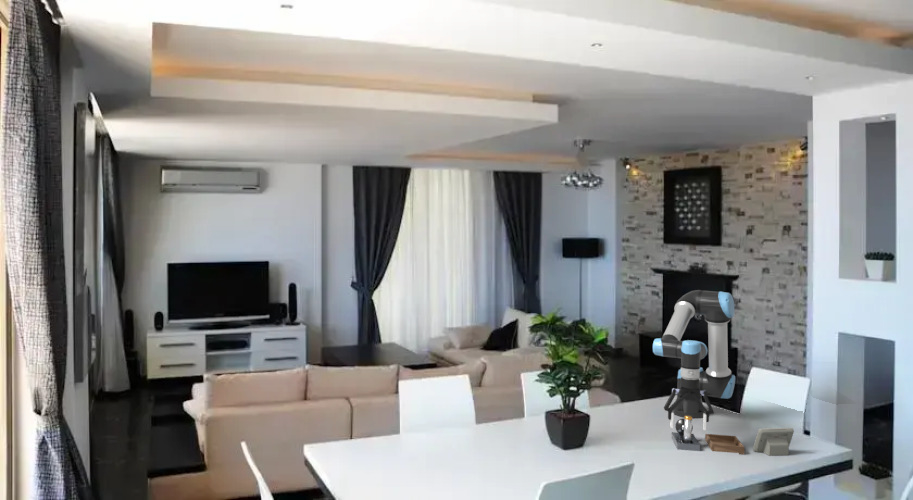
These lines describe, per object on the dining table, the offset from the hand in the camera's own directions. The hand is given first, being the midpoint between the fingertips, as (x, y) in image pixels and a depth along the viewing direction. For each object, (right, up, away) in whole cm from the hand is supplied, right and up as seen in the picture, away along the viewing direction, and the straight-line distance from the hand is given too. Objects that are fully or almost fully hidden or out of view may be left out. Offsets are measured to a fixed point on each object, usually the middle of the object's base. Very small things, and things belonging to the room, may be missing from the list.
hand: (687, 428), depth 298 cm
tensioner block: (0, -8, +5) cm, 10 cm away
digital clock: (+35, -10, -1) cm, 36 cm away
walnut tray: (+16, -9, +3) cm, 19 cm away
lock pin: (0, -8, 0) cm, 8 cm away
